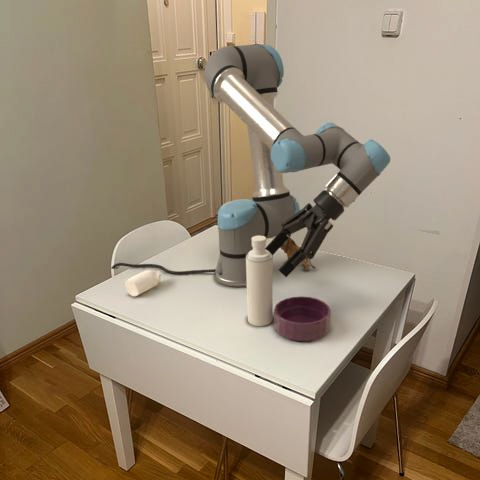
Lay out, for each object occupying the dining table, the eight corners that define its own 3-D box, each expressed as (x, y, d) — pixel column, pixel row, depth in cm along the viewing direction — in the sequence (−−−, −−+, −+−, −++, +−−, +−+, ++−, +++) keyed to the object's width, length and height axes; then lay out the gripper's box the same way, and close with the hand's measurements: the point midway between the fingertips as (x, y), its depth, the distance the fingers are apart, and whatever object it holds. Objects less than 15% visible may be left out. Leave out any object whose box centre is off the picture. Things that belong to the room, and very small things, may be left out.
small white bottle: (168, 283, 153) (166, 267, 150) (139, 298, 145) (136, 281, 142) (155, 278, 156) (153, 262, 153) (126, 293, 148) (123, 276, 145)
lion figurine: (274, 261, 164) (274, 236, 160) (283, 256, 168) (283, 231, 163) (311, 272, 156) (312, 246, 151) (320, 267, 159) (321, 241, 155)
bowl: (269, 339, 123) (269, 321, 121) (279, 312, 135) (279, 294, 132) (326, 345, 120) (327, 326, 117) (331, 316, 132) (332, 298, 129)
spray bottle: (262, 328, 128) (261, 239, 115) (242, 321, 132) (239, 233, 119) (277, 318, 132) (277, 230, 119) (257, 311, 136) (256, 225, 123)
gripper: (365, 225, 110) (299, 292, 115) (326, 194, 131) (272, 252, 136) (344, 204, 106) (277, 274, 112) (308, 175, 127) (253, 236, 133)
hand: (274, 262), depth 124 cm, fingers open, 13 cm apart
